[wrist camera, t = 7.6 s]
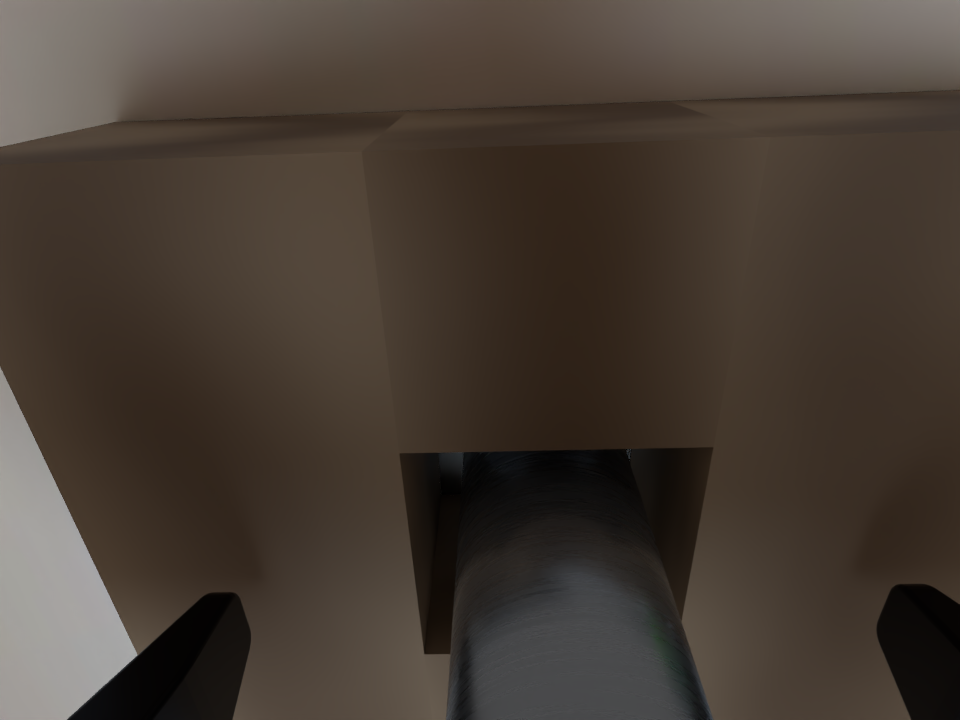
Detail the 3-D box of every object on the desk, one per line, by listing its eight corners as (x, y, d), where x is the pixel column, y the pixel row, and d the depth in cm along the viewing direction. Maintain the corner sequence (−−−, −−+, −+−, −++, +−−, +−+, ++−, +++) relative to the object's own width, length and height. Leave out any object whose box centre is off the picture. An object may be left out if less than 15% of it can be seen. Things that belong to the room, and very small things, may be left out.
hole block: (979, 89, 9) (1270, 119, 6) (809, 607, 15) (906, 779, 12) (114, 122, 10) (-95, 168, 6) (264, 613, 16) (197, 781, 12)
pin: (614, 348, 12) (870, 994, 4) (605, 469, 13) (776, 1119, 5) (462, 352, 12) (405, 990, 4) (469, 472, 13) (438, 1115, 5)
